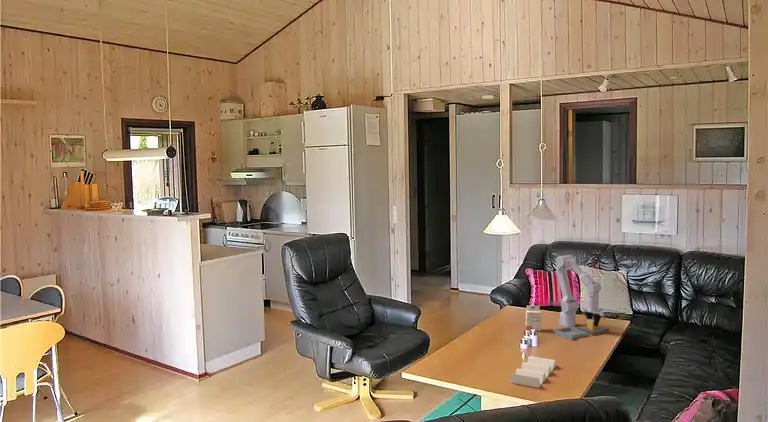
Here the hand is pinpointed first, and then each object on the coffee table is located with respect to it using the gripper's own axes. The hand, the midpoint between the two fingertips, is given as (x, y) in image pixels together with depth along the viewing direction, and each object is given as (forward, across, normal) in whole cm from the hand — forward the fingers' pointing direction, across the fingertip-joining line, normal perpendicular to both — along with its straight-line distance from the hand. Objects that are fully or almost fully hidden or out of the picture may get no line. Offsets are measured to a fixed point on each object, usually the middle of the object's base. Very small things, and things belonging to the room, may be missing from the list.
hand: (593, 325), depth 360 cm
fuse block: (+4, 0, 0) cm, 4 cm away
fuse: (+4, 0, 0) cm, 4 cm away
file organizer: (+5, +36, -78) cm, 86 cm away
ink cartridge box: (+5, -22, -27) cm, 35 cm away
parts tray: (+4, -2, -16) cm, 17 cm away
